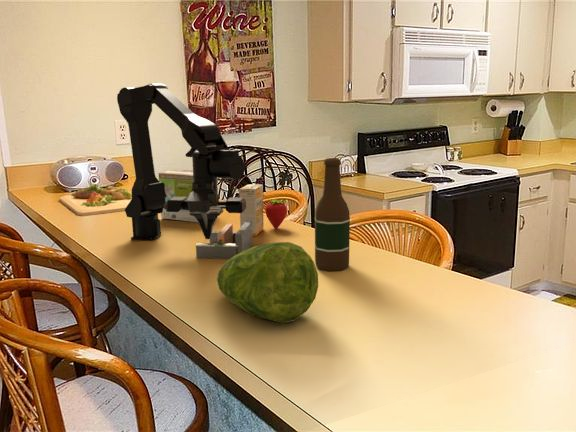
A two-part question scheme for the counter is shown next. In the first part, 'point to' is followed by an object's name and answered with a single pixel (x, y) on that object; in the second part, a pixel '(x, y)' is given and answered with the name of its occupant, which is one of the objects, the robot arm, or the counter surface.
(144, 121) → the robot arm
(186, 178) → the tea box
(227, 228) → the long salmon pink beam
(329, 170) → the beer bottle
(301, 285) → the lettuce
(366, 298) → the counter surface
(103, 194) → the cutting board
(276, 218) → the strawberry
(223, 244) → the gauge frame
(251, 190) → the supplement box
